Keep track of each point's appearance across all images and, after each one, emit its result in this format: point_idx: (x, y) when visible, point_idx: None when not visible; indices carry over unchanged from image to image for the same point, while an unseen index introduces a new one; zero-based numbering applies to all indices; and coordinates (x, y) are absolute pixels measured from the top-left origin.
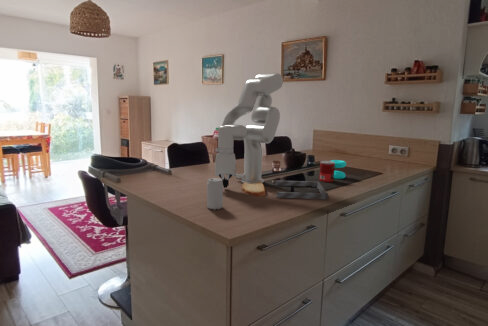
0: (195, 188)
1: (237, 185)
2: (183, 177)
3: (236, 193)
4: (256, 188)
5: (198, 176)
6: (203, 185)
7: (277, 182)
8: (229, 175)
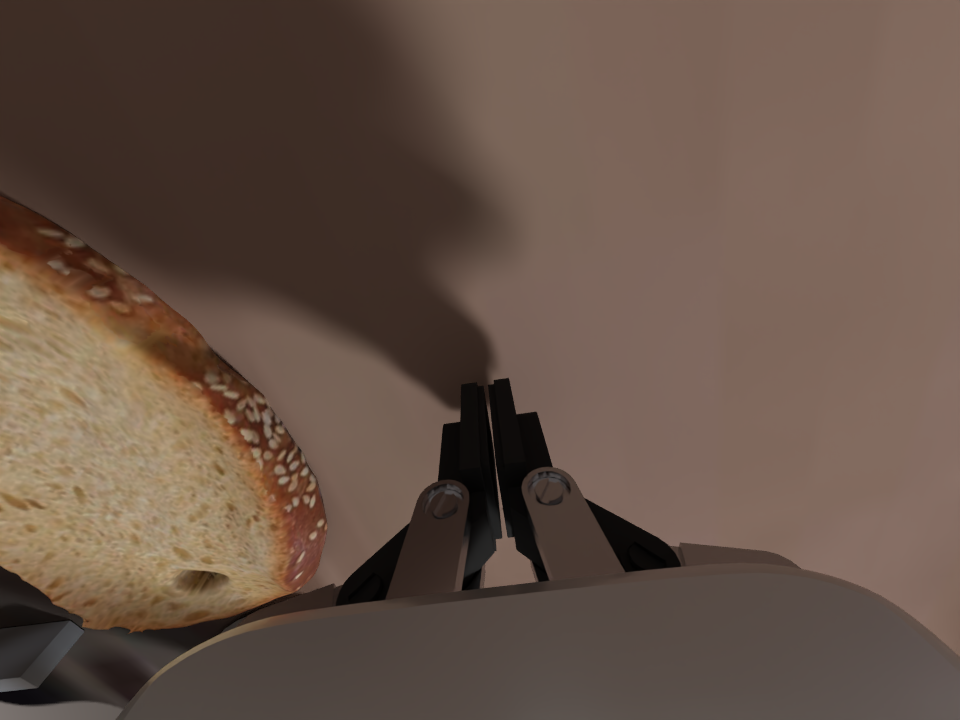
0: (894, 346)
1: None
2: None
3: (257, 237)
4: (9, 428)
5: None
6: (770, 481)
7: (11, 661)
8: (398, 597)
